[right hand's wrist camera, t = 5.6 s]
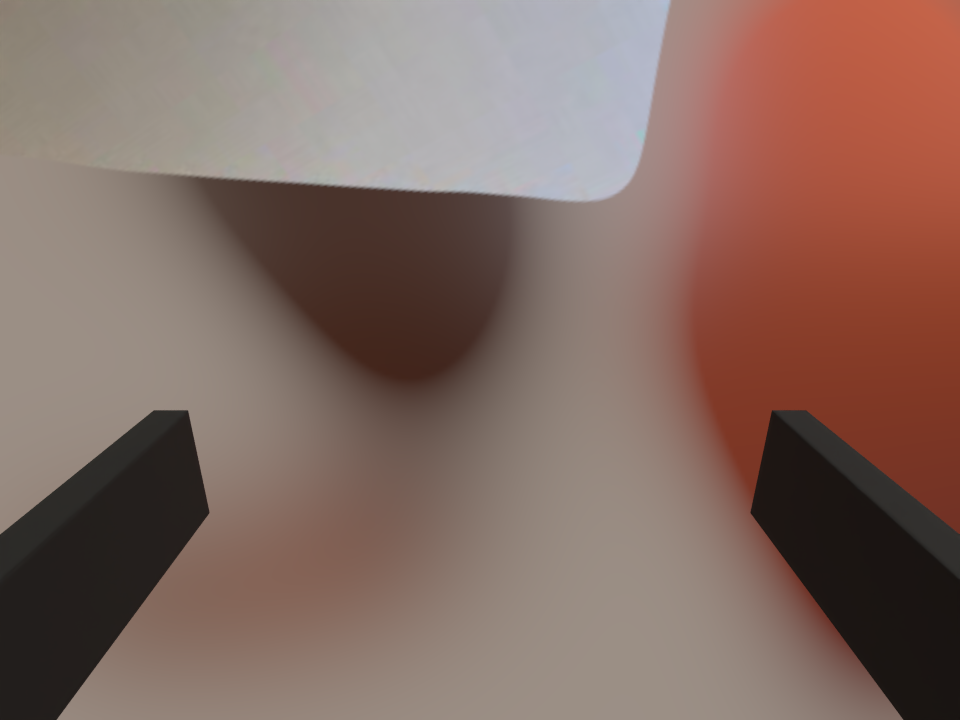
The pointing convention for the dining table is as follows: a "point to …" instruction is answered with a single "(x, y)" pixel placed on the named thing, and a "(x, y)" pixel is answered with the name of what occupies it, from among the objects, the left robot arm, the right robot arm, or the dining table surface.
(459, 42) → the dining table surface
